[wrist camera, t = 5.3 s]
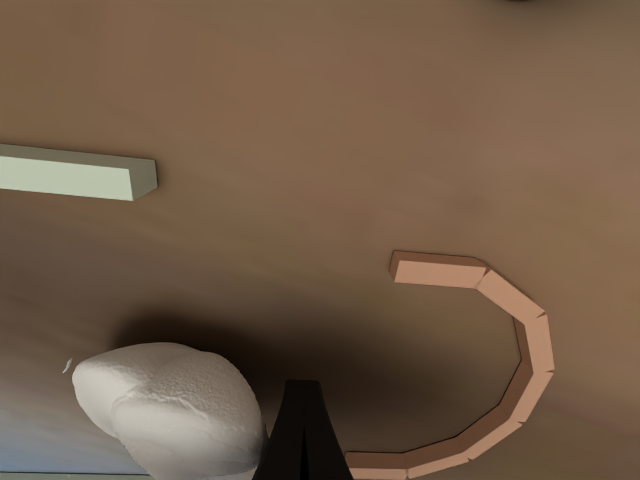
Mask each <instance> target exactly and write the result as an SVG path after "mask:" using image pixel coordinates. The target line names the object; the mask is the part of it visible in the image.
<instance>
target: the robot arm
mask: <svg viewBox="0 0 640 480" xmlns="http://www.w3.org/2000/svg"><path fill="white" fill-rule="evenodd" d="M252 480H354V478H353V476H352V474H351V472H350V469H349V467H348V465H347V463H346V460H345V458H344V456H343V453H342V451H341V448H340V446H339V443H338V441H337V438H336V435H335V433H334V430H333V427H332V424H331V422H330V419H329V416H328V412H327V409H326V406H325V402H324V399H323V395H322V391H321V386H320V383H319V382H318V381H312V380H292V379H289V380H287V381H286V383H285V390H284V395H283V400H282V403H281V407H280V410H279V413H278V417H277V419H276V422H275V425H274V428H273V430H272V433H271V436H270V439H269V441H268V444H267V446H266V448H265V451H264V453H263V455H262V458H261V460H260V463H259V465H258V467H257V469H256V472H255V474H254V476H253V478H252Z"/></svg>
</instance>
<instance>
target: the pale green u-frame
mask: <svg viewBox="0 0 640 480" xmlns="http://www.w3.org/2000/svg"><path fill="white" fill-rule="evenodd" d="M157 187H158V186H157V176H156V166H155V160H149V159H140V158H131V157H121V156H112V155H102V154H93V153H83V152H74V151H64V150H55V149H45V148H36V147H26V146H17V145H7V144H0V188H3V189H14V190H24V191H35V192H45V193H56V194H67V195H77V196H88V197H99V198H109V199H120V200H131V201H133V200H135V199H137V198H139V197H141V196H143V195H144V194H146V193H148V192H150V191H152V190H154V189H156V188H157ZM68 475H70V477H67V476H68ZM0 480H156V479H155V478H153V477H152V476H145V475H94V474H42V473H0Z"/></svg>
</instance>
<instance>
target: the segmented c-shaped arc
mask: <svg viewBox="0 0 640 480" xmlns="http://www.w3.org/2000/svg"><path fill="white" fill-rule="evenodd" d="M389 272H390V274H391V276H392V278H393V280H394V282H401V283H414V284H427V285H439V286H452V287H465V288H476V289H477V290H478V291H480V292H481V293H482V294H484V295H485V296H486V297H488V298H489V299H491V300H492V301H493V302H495V303H496V304H497V305H499V306H500V307H501V308H503V309H504V310H505V311H507V312H508V313H510V314H511V315H512V316H513V318H514V323H515V328H516V333H517V338H518V343H519V348H520V352H521V357H522V361H521V363H520V365H519V367H518V369H517V371H516V373H515V375H514V377H513V379H512V381H511V383H510V385H509V387H508V389H507V391H506V393H505V395H504V397H503V399H502V401H501V403H500V405H498V406H497V407H496V408H494V409H493V410H492V411H490V412H489V413H488V414H486V415H485V416H484V417H482V418H481V419H480V420H478V421H477V422H476V423H474V424H473V425H472V426H470V427H469V428H468V429H466V430H465V431H464V432H462V433H461V434H460V435H458V436H457V437H455V438H452V439H449V440H446V441H442V442H439V443H436V444H432V445H429V446H426V447H423V448H419V449H416V450H413V451H410V452H406V453H403V454H397V453H360V452H346V455H345V460H346V463H347V465H348V467H349V469H350V472H351V474H352V476H353V478H354V479H398V480H405V479H406V477H407V475H408V477H409V479H412V478H415V477H418V476H422V475H425V474H429V473H432V472H435V471H439V470H442V469H446V468H449V467H452V466H456V465H459V464H463V463H466V462H469V461H468V458H470V459H472V460H473V459H475V458H476V457H477V456H479V455H480V454H482V453H483V452H485V451H486V450H487V449H489V448H490V447H492V446H493V445H495V444H496V443H497V442H499V441H500V440H502V439H503V438H505V437H506V436H507V435H509V434H510V433H512V432H513V431H515V430H516V429H517V428H519V427H520V426H522V423H521V422H526V420H527V418H528V417H529V415H530V413H531V411H532V410H533V408H534V406H535V404H536V403H537V401H538V399H539V397H540V396H541V394H542V392H543V390H544V389H545V387H546V385H547V384H548V382H549V380H550V378H551V377H552V375H553V373H554V372H553V371H552V370H553V369H555V368H554V361H553V354H552V347H551V340H550V333H549V327H548V320H547V314H546V313H544V310H543V309H542V308H541V307H539V306H538V305H537V304H536V303H535V302H534V301H532V300H531V299H530V298H529V297H527V296H526V295H525V294H524V293H522V292H521V291H520V290H518V289H517V288H516V287H515V286H513V285H512V284H511V283H509V282H508V281H507V280H506V279H504V278H503V277H502V276H500V275H499V274H498V273H497V272H495V271H494V270H493V269H492V268H490V267H489V266H488V265H486V264H485V263H484V262H483V261H481V260H479V261H478V260H477V259H476V258H472V257H460V256H449V255H437V254H426V253H414V252H402V251H394V252H393V256H392V261H391V265H390V269H389ZM467 457H468V458H467Z"/></svg>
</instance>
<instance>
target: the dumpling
mask: <svg viewBox="0 0 640 480" xmlns="http://www.w3.org/2000/svg"><path fill="white" fill-rule="evenodd" d="M72 360H73V357H72V358H71V359H70V360H69V361H68V363H67V366H66V368H65V370H64V371H63V373H64V372H65V371H66V370H67V369H68V368H69V366H70V364H71V362H72ZM72 381H73V385H75V392H76V393H75V394H76V397H77V400H78V402H79V405H80V406H81V407H82V408H83V410H84V411H85V412H86V414H87V415H88V416H89V417H90V419H91V420H92V421H93V422H94V423H95V424H96V425H97V426H98V427H100V428H101V429H102V430H103V431H104V432H106V433H107V434H109V435H111V436H113V437H115V438H117V439H119V440H120V441H121V444H122V445H125V449H128V450H129V454H131V456H132V458H133V459H134V461H135V462H136V463H138V464H139V465H140V466H142V467H143V468H144V469H145V470H146V472H148V474H149V475H151V476H152V477H153V478H155V479H156V480H203V479H208V478H211V477H212V476H214V475H215V476H224V475H233V474H238V473H242V472H245V471H248V470H251V469H253V468H255V467H256V466H258V465H259V463H260V460H261V458H262V455H263V453H264V451H265V448H266V446H267V444H268V441H269V437H268V434H267V430H266V424H265V422H264V420H263V419H262V415H261V412H260V409H259V406H258V402H257V401H256V399H255V397H256V396H255V394H254V393H253V391H252V390H251V387H250V386H249V384H248V383H247V381H246V379H245V378H243V375H241V373H240V372H239V370H238V369H237V368H236V367H234V365H233V364H231V363H230V362H229V361H228V360H227V359H226V358H224V357H222V356H221V355H218V354H215V353H211V352H203V351H199V350H197V349H194V348H191V347H188V346H186V345H182V344H177V343H171V342H157V343H145V344H137V345H132V346H127V347H123V348H118V349H115V350H112V351H108V352H105V353H103V354H100V355H96V356H93V357H91V358H89V359H86V360H84V361H82V362H81V363H80V364H79V365H77V367H76V369H75V371H74V373H73V376H72ZM67 477H70V475H68V476H67Z"/></svg>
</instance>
